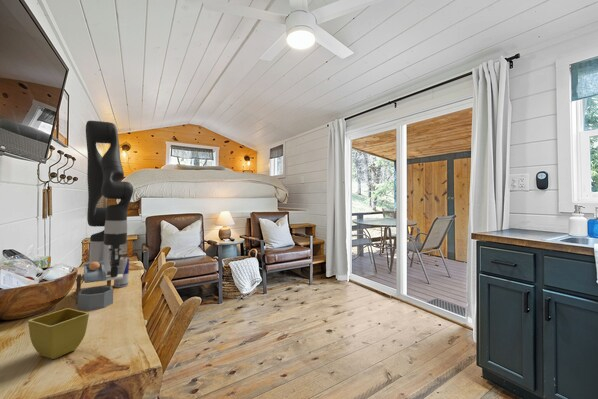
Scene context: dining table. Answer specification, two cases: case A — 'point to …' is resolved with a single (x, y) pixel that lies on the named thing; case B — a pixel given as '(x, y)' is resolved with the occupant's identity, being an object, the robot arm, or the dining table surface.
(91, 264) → the ball
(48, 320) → the flower pot
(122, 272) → the energy drink
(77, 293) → the lever stand
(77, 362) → the dining table surface
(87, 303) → the gray octagonal bowl
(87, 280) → the ramp lever
